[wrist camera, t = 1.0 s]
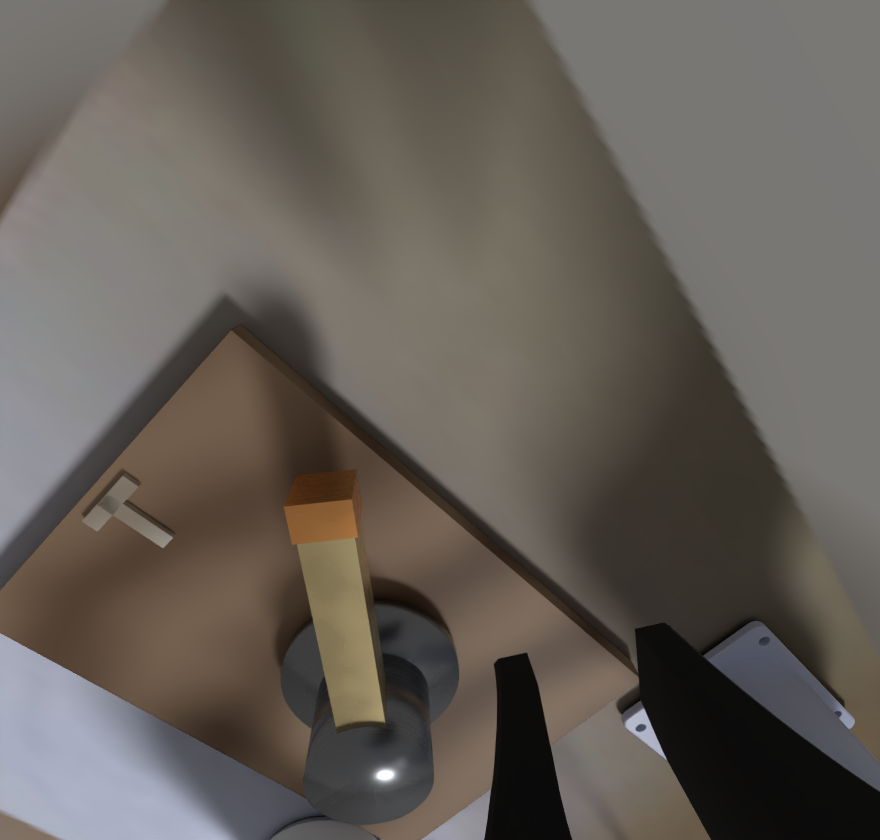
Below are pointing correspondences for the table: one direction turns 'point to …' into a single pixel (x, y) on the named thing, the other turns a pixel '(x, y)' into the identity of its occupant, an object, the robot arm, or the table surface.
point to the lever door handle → (360, 666)
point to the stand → (284, 582)
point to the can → (322, 830)
